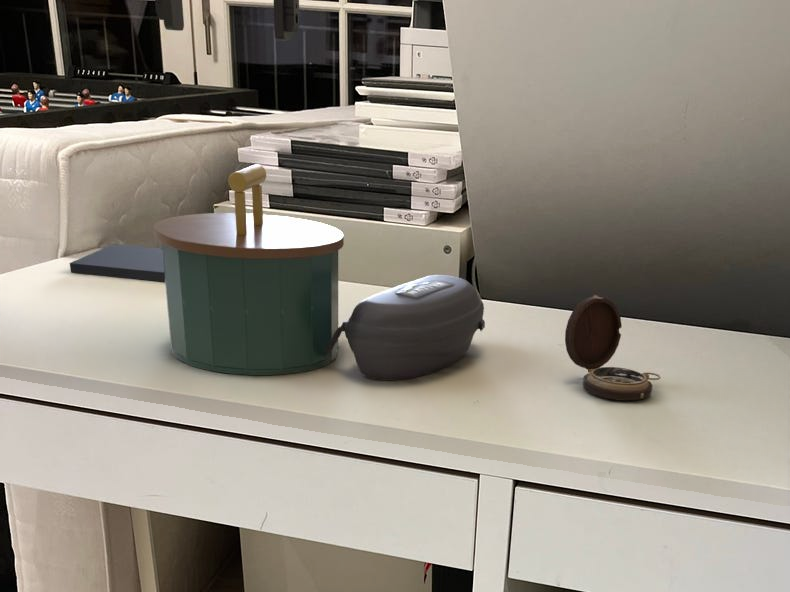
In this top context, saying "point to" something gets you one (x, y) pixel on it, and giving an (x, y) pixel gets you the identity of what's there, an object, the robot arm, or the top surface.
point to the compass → (602, 351)
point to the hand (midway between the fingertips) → (229, 35)
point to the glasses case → (413, 327)
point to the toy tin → (251, 311)
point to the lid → (248, 228)
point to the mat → (123, 263)
